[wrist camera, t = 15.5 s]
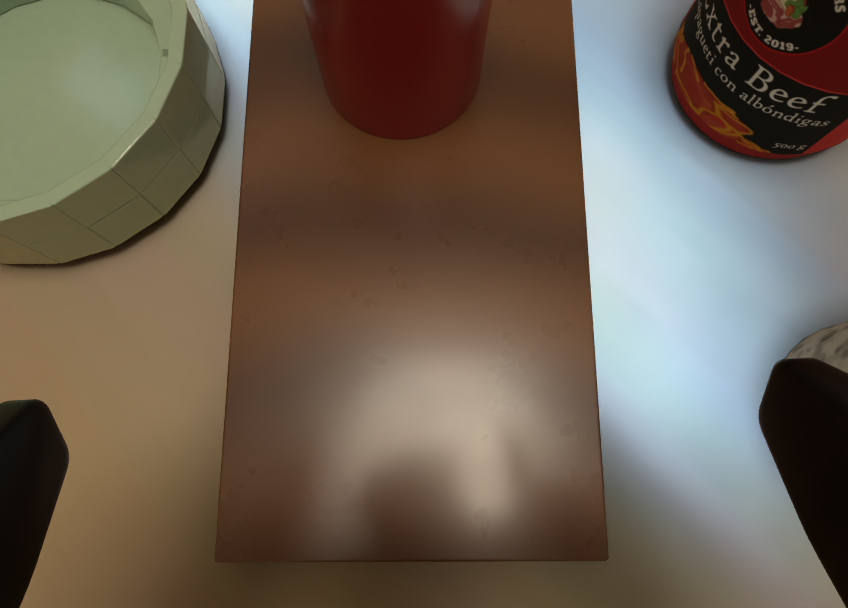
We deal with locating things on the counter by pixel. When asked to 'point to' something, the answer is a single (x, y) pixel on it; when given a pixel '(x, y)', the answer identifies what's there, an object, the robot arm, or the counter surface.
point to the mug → (826, 346)
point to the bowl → (100, 120)
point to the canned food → (765, 74)
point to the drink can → (399, 60)
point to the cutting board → (413, 317)
